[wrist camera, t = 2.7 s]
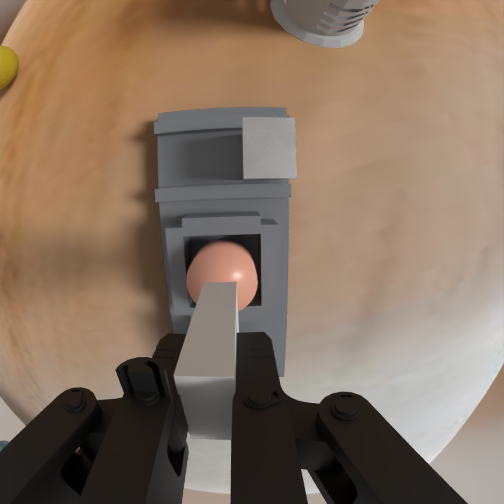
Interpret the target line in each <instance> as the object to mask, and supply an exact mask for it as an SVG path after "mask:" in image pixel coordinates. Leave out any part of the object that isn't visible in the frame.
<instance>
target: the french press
mask: <svg viewBox="0 0 504 504" xmlns="http://www.w3.org/2000/svg"><path fill="white" fill-rule="evenodd" d="M379 1H380V0H272V1H271V4H270V7H271V10H272V13H273V17H274V19H275V20H276V21H277V22H278V23H279V24H280V25H281V26H282V28H283V29H284V30H285V31H286V32H288V33H290V34H292V35H293V36H295V37H297V38H298V39H300V40H302V41H303V42H307V43H310V44H314V45H317V46H320V47H330V48H342V47H345V46H348V45H351V44H354V43H356V41H357V40H358V39H359V38H360V37H361V36H362V34H363V26H364V21H363V19H364V18H365V17H366V16H367V14H368V13H369V12H370V11H371V10H372V9H373V8H374V6H375V5H376V4H377V3H378V2H379ZM374 4H375V5H374ZM370 5H371V7H370V8H369V7H368V6H370ZM363 8H365V9H364V10H362V9H363ZM369 10H370V11H369ZM368 11H369V12H368ZM365 12H366V13H365ZM364 13H365V14H364ZM363 17H364V18H363Z"/></svg>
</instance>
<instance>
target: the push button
mask: <svg viewBox="0 0 504 504" xmlns="http://www.w3.org/2000/svg"><path fill="white" fill-rule="evenodd" d="M204 282H237V299H238V311H240V310H242V309H243V308H245V307H246V306H247V305H248V304H249V303H250V302H251V301H252V299H253V298H254V296H255V293H256V290H257V283H258V281H257V274H256V269H255V264H254V260H253V257H252V255H251V253H250V252H249V250H248V249H247V248H246V247H245V246H244V245H243V244H241V243H240V242H238V241H236V240H233V239H228V238H219V239H214V240H212V241H210V242H208V243H206V244H205V245H203V246H202V247H201V249H200V250H199V251H198V253H197V254H196V256H195V258H194V260H193V261H192V263H191V265H190V267H189V269H188V272H187V278H186V284H187V289H188V292H189V294H190V296H191V298H192V299H193V301H194V302H195V303H196V304H197V301H198V298H199V296H200V293H201V290H202V287H203V284H204Z"/></svg>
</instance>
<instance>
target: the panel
mask: <svg viewBox="0 0 504 504" xmlns="http://www.w3.org/2000/svg"><path fill="white" fill-rule="evenodd" d="M243 117H279V118H289V115H287V111H286V108H276V107H234V108H211V109H197V110H186V111H176V112H167V113H160V114H158V121H155V122H154V134H155V135H156V136H158V189H155V202H159V210H160V225H161V238H162V249H163V259H164V268H165V277H166V285H167V293H168V301H169V308H170V314H171V321H172V327H173V333H174V334H187V331H188V328H189V325H190V322H191V319H192V316H193V313H194V310H195V307H196V303H195V302H194V301H193V299H192V298H191V296H190V294H189V292H188V289H187V284H186V278H187V272H188V269H189V267H190V265H191V263H192V261H193V260H194V258H195V256H196V254H197V253H198V251H199V250H200V249H201V247H202V246H203V245H205V244H206V243H208V242H210V241H212V240H214V239H219V238H228V239H233V240H236V241H238V242H240V243H241V244H243V245H244V246H245V247H246V248H247V249H248V250H249V252H250V253H251V255H252V257H253V260H254V264H255V269H256V274H257V281H258V283H257V290H256V293H255V296H254V298H253V299H252V301H251V302H250V303H249V304H248V305H247V306H246V307H245V308H243V309H242V310H240V311H238V322H239V333H242V332H265V333H266V334H267V335H268V336H269V337H270V338H271V339H272V344H273V350H274V355H275V360H276V365H277V370H278V375H279V377H284V367H285V348H286V325H287V295H288V241H289V197H291V184H288V179H285V180H242V140H241V132H242V118H243Z"/></svg>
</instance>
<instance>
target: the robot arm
mask: <svg viewBox="0 0 504 504" xmlns="http://www.w3.org/2000/svg"><path fill="white" fill-rule="evenodd" d="M116 373H117V376H118V378H119V381H120V384H121V386H122V389H123V392H124V395H123V397H122V398H117V399H107V400H97V399H96V397H95V395H94V393H93V392H91V391H90V390H89V389H86V388H82V387H78V388H71V389H68V390H66V391H64V392H63V393H61V394H60V395H59V396H57V397H56V398H55V399H54V400H53V401H52V402H51V403H50V404H49V405H48V406H47V407H46V408H45V409H44V410H43V411H41V412H40V413H39V414H38V415H37V416H36V417H35V418H34V419H33V420H32V421H31V422H30V423H29V424H28V425H27V426H26V427H25V428H24V429H23V430H22V431H21V432H20V433H19V434H17V435H16V437H14V438H13V439H12V440H11V441H10V442H8V441H0V504H182V497H183V489H184V482H185V474H186V467H187V460H188V453H189V452H188V445H187V442H186V438H187V432H189V435H190V438H193V439H217V440H231V504H308V502H307V497H306V492H305V487H304V482H303V477H302V472H301V469H306V470H308V472H309V474H310V476H311V477H312V479H313V481H314V482H315V484H316V486H317V488H318V489H319V491H320V493H321V494H322V496H323V497H324V499H325V501H326V502H327V504H468V503H467V502H466V501H465V500H464V499H463V498H462V497H461V496H459V494H458V493H456V491H454V490H453V488H452V487H450V486H449V484H447V482H446V481H445V480H444V479H443V478H442V477H441V476H440V475H439V474H438V473H437V472H436V471H435V470H434V469H432V467H431V466H430V465H429V464H428V463H427V462H426V461H425V460H424V459H423V458H422V457H421V456H420V455H419V454H418V453H417V452H416V451H415V450H414V449H413V448H412V447H411V446H410V445H409V444H408V443H407V442H406V440H405V439H404V438H403V437H402V436H401V435H400V434H399V433H398V432H397V431H396V430H395V429H394V428H393V427H392V426H391V425H390V424H389V423H388V422H387V421H386V420H385V418H384V417H383V416H382V415H381V414H380V413H379V412H378V411H377V410H376V409H375V408H374V407H373V406H372V405H371V404H370V403H369V402H368V400H366V399H365V398H363V397H362V396H361V395H358V394H355V393H352V392H337V393H332V394H330V395H328V396H327V397H325V398H324V399H323V400H322V401H321V402H320V404H317V403H308V402H302V401H298V400H295V399H293V398H291V397H289V396H288V395H287V394H285V392H284V391H283V390H282V388H281V385H280V381H279V375H278V370H277V365H276V360H275V355H274V350H273V344H272V339H271V338H270V337H269V336H268V335H267V334H266V333H265V332H242V333H239V322H238V299H237V282H204V284H203V287H202V290H201V293H200V296H199V298H198V301H197V304H196V307H195V310H194V313H193V316H192V319H191V322H190V325H189V328H188V331H187V334H171V333H168V334H167V335H166V336H165V337H163V338H162V339H161V340H160V341H159V343H158V345H157V347H156V351H155V352H154V354H153V358H149V357H137V358H133V359H129V360H127V361H125V362H123V363H122V364H120V365H119V366H118V367H117V368H116ZM78 447H80V448H81V449H80V450H78V451H77V452H75V451H76V449H77V448H78Z"/></svg>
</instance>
